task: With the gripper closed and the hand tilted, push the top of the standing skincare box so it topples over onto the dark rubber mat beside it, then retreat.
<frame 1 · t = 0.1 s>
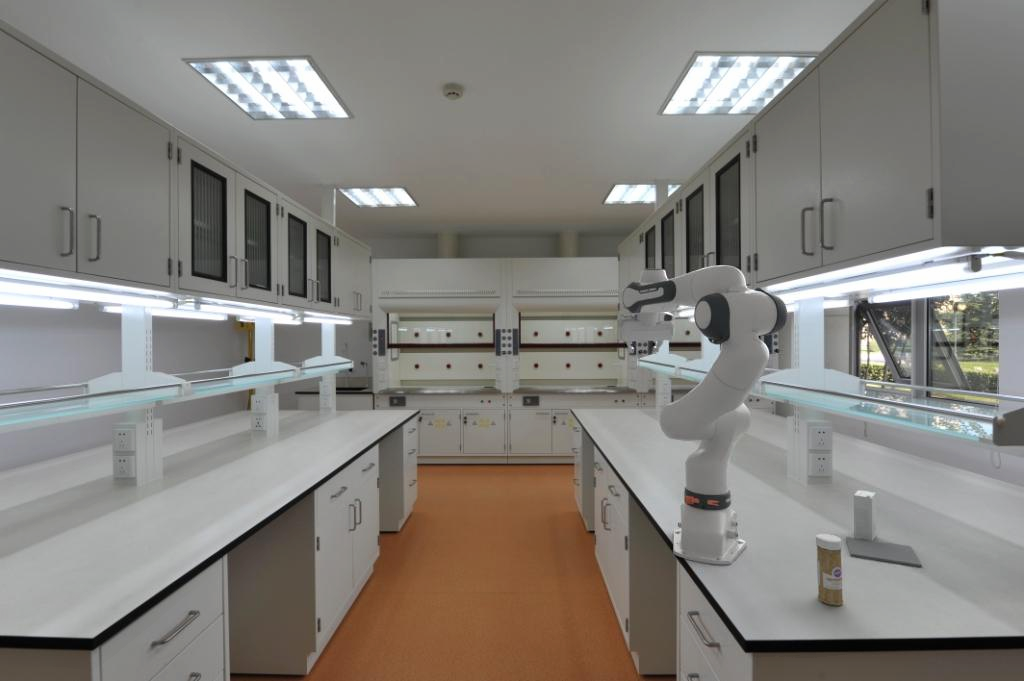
hand: (643, 352, 172), 52 cm above the counter, tool tilted 20°, fingers open, 8 cm apart
sprinkles bottle: (830, 601, 102), on the counter
mat: (881, 552, 124), on the counter
skincare box: (866, 538, 134), on the counter
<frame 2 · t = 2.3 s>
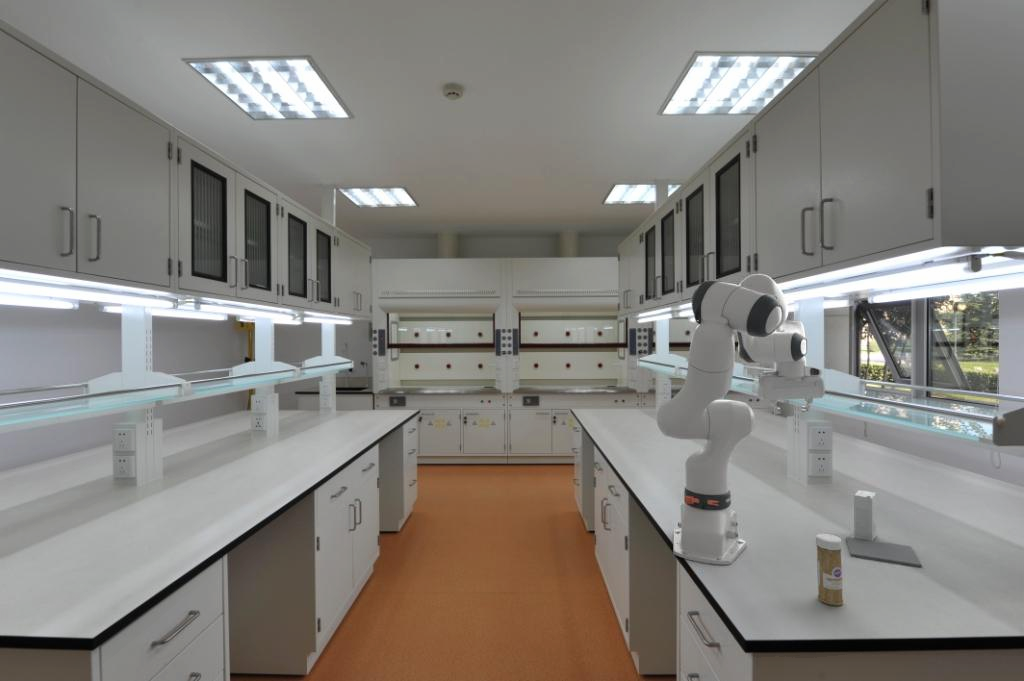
hand: (791, 412, 157), 31 cm above the counter, tool pointing down, fingers open, 8 cm apart
nothing on the counter moved.
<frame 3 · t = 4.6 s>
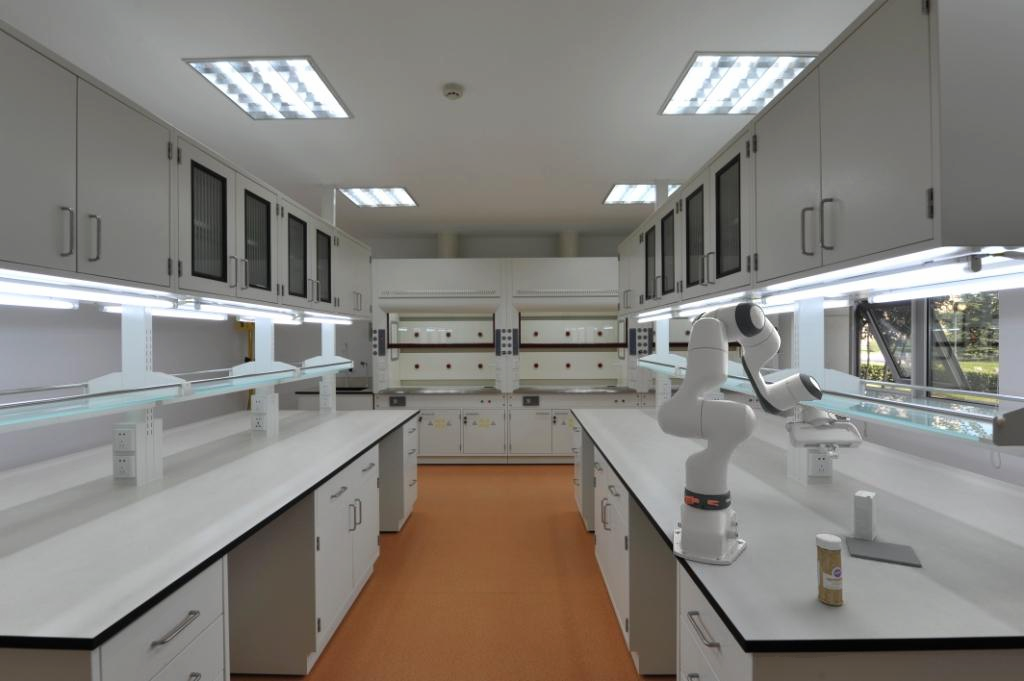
hand: (832, 458, 151), 18 cm above the counter, tool tilted 45°, fingers closed
nothing on the counter moved.
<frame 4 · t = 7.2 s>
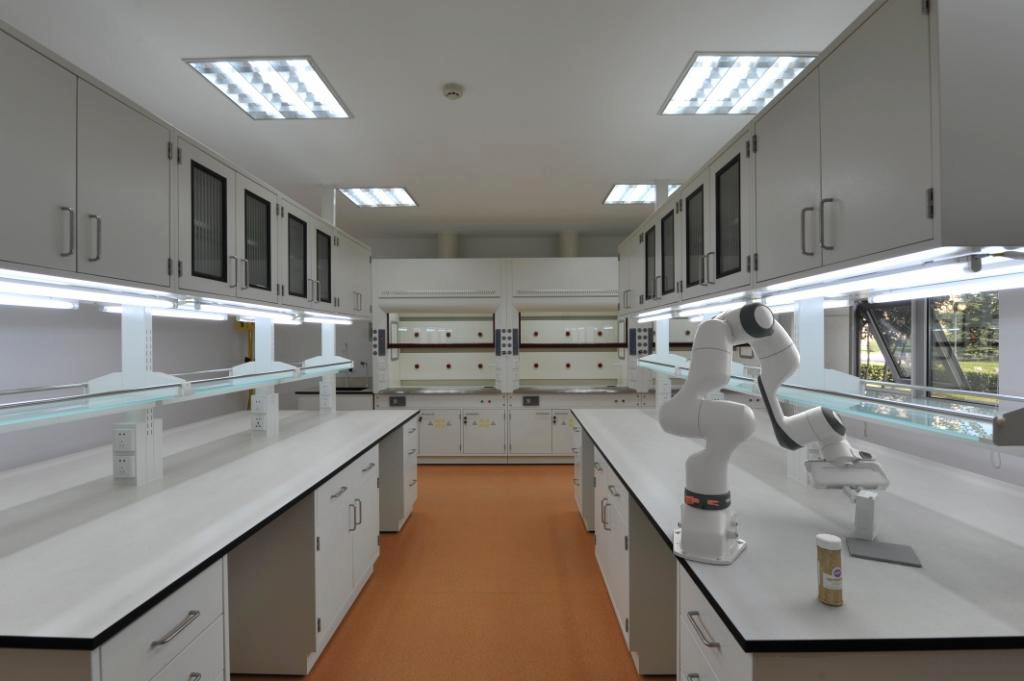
hand: (858, 502, 137), 8 cm above the counter, tool tilted 45°, fingers closed
skincare box: (866, 537, 134), on the counter, touching gripper
everything else where it was.
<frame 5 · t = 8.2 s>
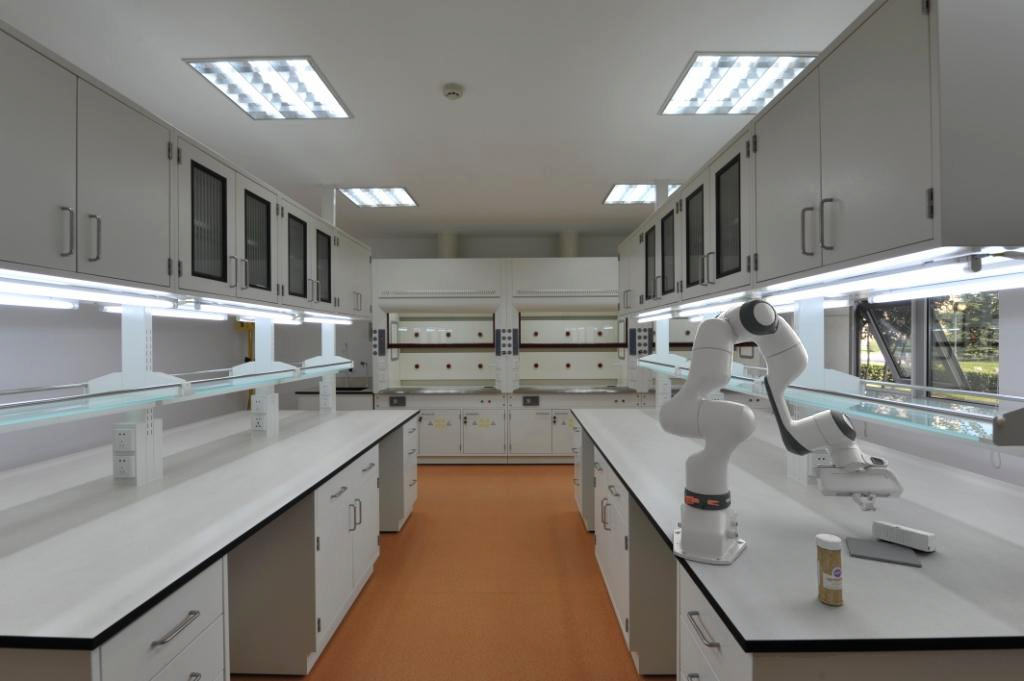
hand: (869, 510, 131), 8 cm above the counter, tool tilted 45°, fingers closed
skincare box: (875, 528, 133), point 2 cm above the counter, touching mat
everything else where it was.
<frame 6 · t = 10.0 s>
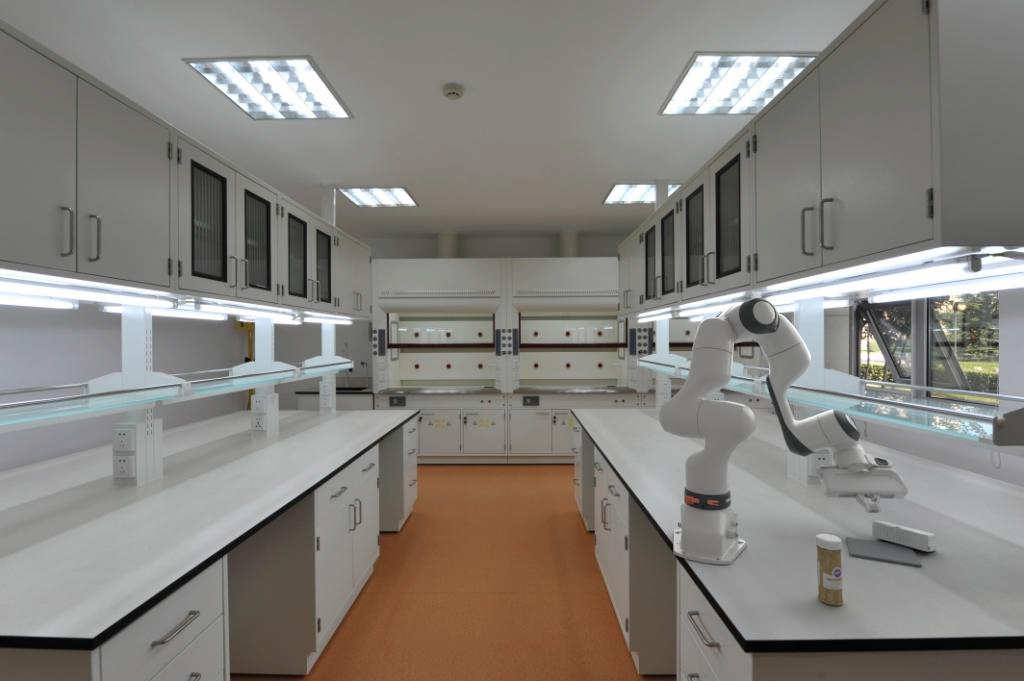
hand: (873, 511, 129), 9 cm above the counter, tool tilted 45°, fingers closed
nothing on the counter moved.
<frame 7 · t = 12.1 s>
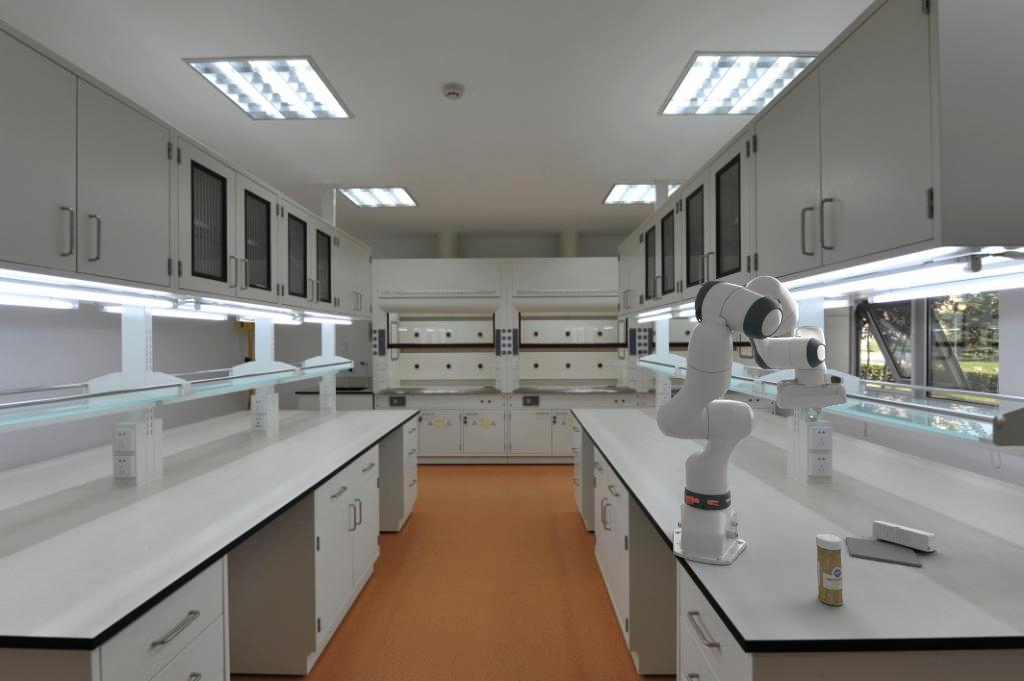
hand: (811, 422, 151), 29 cm above the counter, tool pointing down, fingers closed
nothing on the counter moved.
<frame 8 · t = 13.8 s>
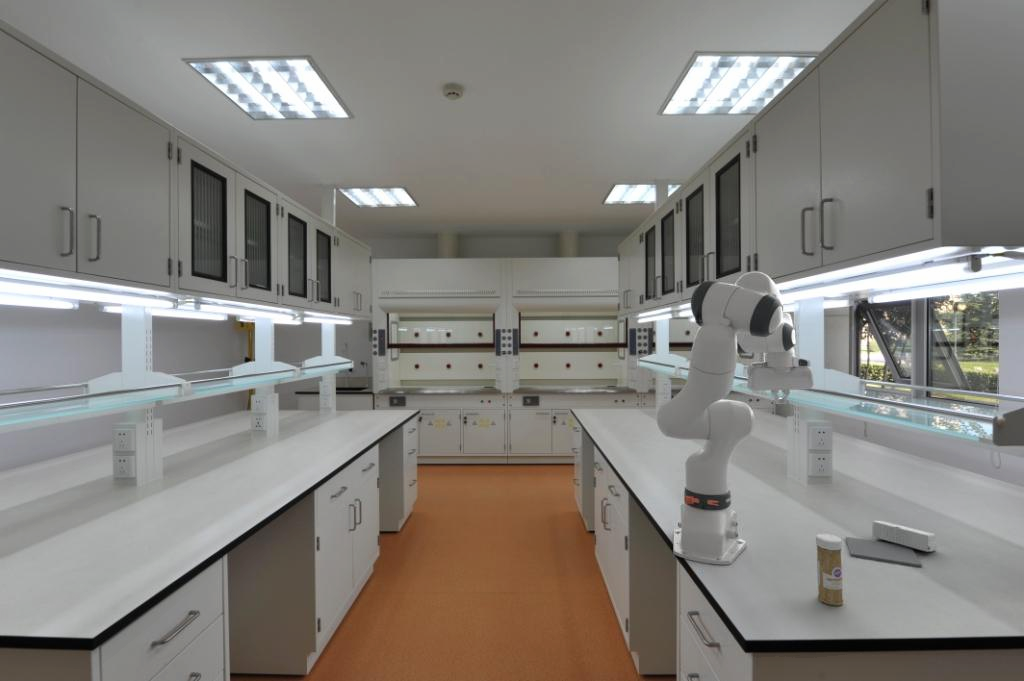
hand: (780, 403, 159), 34 cm above the counter, tool pointing down, fingers closed
nothing on the counter moved.
at the end: skincare box tilted 89°; skincare box inside the target area (7.3 cm from its centre), point 2.4 cm above the counter; the gripper is holding nothing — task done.
